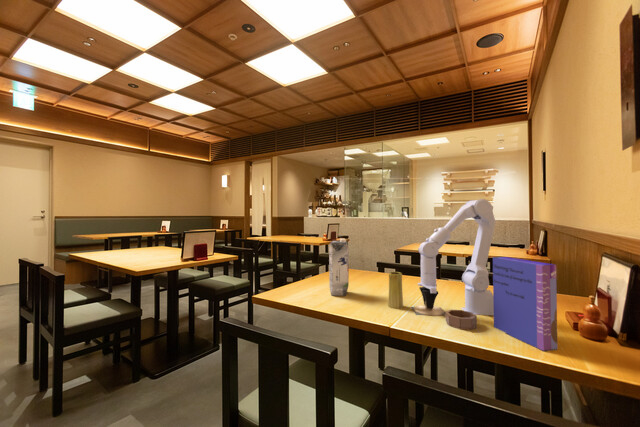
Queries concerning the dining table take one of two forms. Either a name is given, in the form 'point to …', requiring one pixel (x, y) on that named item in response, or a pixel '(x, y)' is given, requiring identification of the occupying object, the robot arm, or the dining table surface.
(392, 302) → the vase
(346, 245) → the juice carton
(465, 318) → the bowl
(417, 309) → the lid
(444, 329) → the dining table surface
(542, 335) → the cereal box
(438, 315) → the mat
